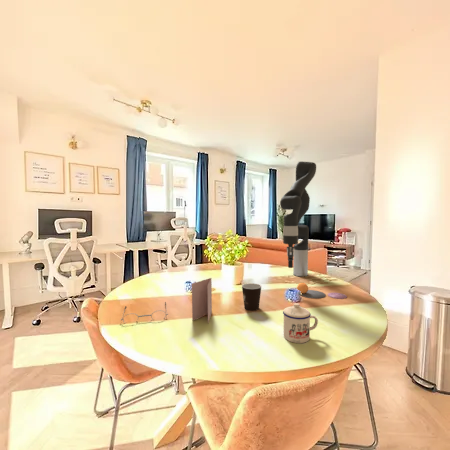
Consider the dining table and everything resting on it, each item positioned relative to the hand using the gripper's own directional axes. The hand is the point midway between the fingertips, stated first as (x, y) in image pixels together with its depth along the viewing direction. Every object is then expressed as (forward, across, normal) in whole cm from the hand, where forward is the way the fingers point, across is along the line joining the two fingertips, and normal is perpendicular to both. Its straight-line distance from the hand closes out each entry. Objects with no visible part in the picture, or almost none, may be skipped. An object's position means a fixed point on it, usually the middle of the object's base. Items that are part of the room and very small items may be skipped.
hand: (290, 267), depth 136 cm
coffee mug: (+14, -24, +17) cm, 32 cm away
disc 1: (+14, 0, -11) cm, 17 cm away
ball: (+11, 0, -6) cm, 12 cm away
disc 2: (+14, 0, -23) cm, 27 cm away
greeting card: (+14, -40, +33) cm, 54 cm away
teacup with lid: (+14, -48, -3) cm, 50 cm away
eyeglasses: (+14, -40, +61) cm, 74 cm away
